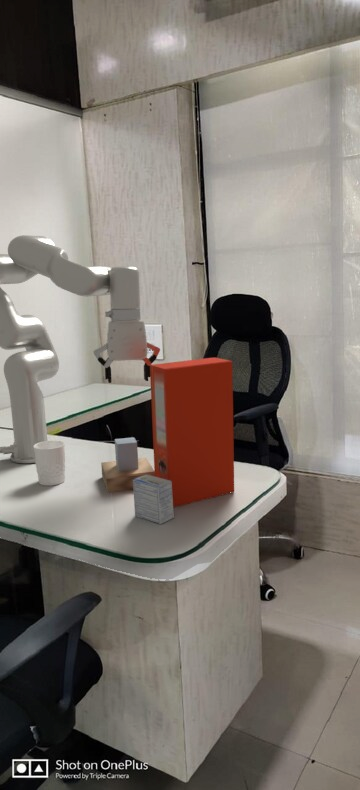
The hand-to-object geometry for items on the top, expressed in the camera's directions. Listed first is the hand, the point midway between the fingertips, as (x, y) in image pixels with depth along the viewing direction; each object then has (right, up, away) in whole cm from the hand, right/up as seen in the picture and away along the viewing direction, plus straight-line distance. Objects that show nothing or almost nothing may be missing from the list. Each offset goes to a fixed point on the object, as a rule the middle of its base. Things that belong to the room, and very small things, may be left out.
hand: (128, 381), depth 160 cm
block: (0, -22, -4) cm, 22 cm away
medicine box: (+8, -31, -27) cm, 41 cm away
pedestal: (0, -26, -3) cm, 26 cm away
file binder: (+17, -28, -14) cm, 36 cm away
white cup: (-20, -27, -1) cm, 33 cm away
